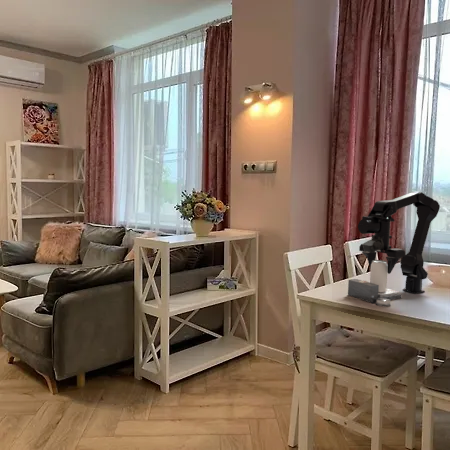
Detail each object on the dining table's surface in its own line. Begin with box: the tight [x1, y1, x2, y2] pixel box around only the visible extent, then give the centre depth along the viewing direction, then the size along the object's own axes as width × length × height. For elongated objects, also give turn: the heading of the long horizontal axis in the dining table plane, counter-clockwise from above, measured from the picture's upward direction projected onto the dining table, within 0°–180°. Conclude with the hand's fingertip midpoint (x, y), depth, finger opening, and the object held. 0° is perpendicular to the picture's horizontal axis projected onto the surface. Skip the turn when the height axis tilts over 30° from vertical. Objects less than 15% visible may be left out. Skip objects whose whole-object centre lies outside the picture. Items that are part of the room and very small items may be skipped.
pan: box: [378, 288, 401, 297], centre depth 188 cm, size 11×11×1 cm
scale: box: [347, 278, 402, 304], centre depth 187 cm, size 16×13×7 cm
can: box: [369, 259, 388, 292], centre depth 187 cm, size 6×6×12 cm
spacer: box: [375, 298, 391, 307], centre depth 175 cm, size 5×5×2 cm
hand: (380, 271), depth 187 cm, fingers open, 9 cm apart
